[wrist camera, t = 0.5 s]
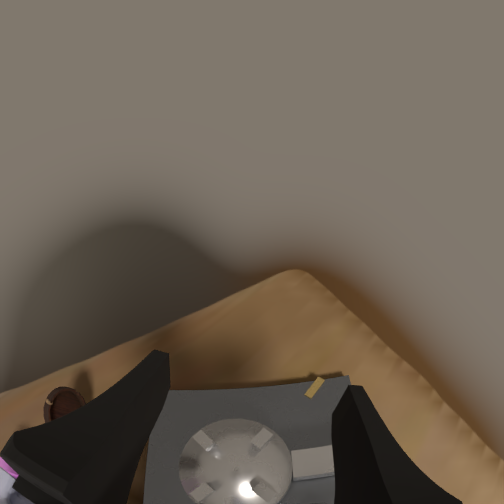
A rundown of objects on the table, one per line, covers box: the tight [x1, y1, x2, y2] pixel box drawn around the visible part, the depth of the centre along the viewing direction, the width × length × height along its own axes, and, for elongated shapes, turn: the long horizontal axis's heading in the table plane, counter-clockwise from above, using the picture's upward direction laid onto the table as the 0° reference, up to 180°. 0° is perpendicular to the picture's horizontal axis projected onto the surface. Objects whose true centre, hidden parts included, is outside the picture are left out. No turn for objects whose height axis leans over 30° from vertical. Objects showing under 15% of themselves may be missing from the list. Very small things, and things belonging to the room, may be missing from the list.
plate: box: [143, 375, 351, 504], centre depth 20 cm, size 22×20×1 cm
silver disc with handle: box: [179, 419, 335, 504], centre depth 19 cm, size 15×9×4 cm, turn 92°
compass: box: [44, 387, 86, 423], centre depth 23 cm, size 8×8×7 cm
